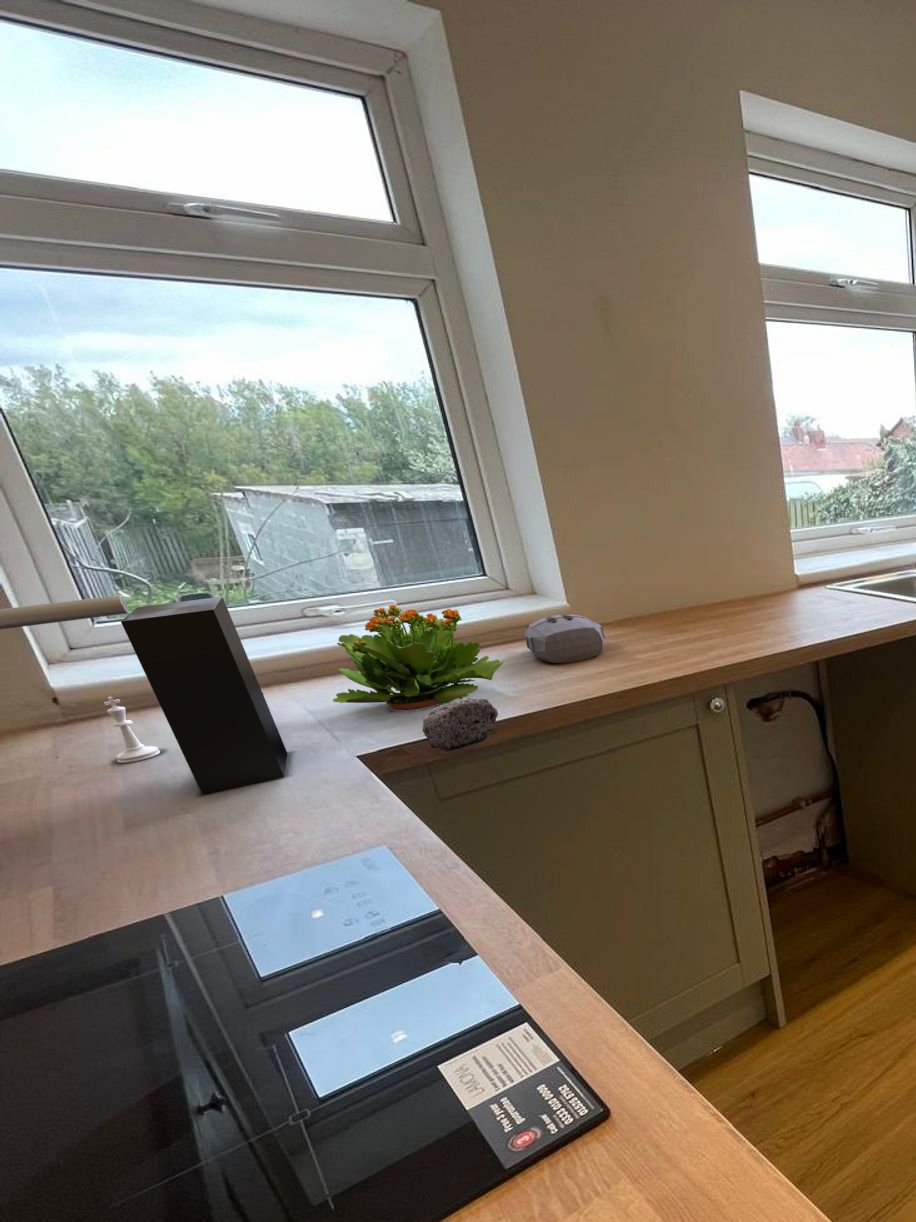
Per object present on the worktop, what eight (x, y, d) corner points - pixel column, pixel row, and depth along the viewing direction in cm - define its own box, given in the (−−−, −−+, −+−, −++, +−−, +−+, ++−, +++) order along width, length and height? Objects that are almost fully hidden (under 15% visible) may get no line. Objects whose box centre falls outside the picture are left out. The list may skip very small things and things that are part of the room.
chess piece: (164, 753, 129) (136, 694, 125) (122, 765, 125) (92, 704, 121) (155, 748, 132) (126, 690, 128) (113, 759, 128) (82, 699, 124)
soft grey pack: (616, 654, 175) (590, 637, 189) (607, 615, 171) (582, 602, 186) (539, 669, 166) (519, 651, 180) (528, 629, 163) (508, 614, 177)
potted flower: (369, 736, 133) (330, 632, 126) (307, 715, 144) (269, 618, 138) (519, 692, 152) (493, 599, 145) (454, 676, 164) (427, 590, 157)
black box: (202, 795, 113) (120, 621, 104) (211, 769, 122) (137, 607, 113) (284, 776, 118) (213, 609, 109) (287, 753, 127) (222, 596, 118)
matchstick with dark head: (-75, 643, 97) (-90, 617, 96) (-65, 639, 100) (-80, 613, 99) (128, 618, 107) (116, 594, 106) (132, 614, 109) (121, 590, 108)
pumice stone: (434, 754, 131) (429, 756, 122) (418, 707, 129) (411, 706, 121) (506, 736, 136) (506, 738, 127) (491, 692, 134) (490, 690, 126)
